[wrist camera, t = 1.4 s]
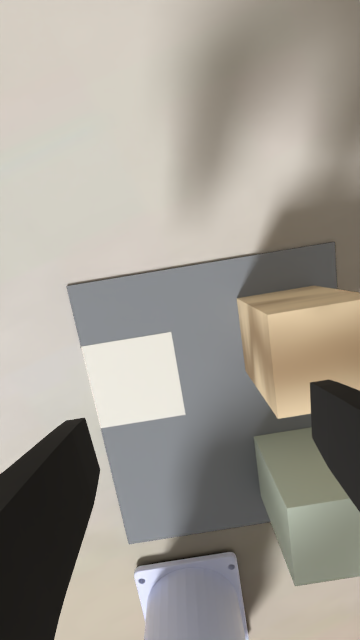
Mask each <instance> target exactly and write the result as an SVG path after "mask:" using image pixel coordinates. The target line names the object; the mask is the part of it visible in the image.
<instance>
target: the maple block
mask: <svg viewBox="0 0 360 640" xmlns="http://www.w3.org/2000/svg"><path fill="white" fill-rule="evenodd" d="M237 306H238V314H239V322H240V330H241V338H242V346H243V355H244V363H245V371H246V372H247V374H248V375H249V377H250V378H251V380H252V381H253V383H254V384H255V386H256V387H257V389H258V390H259V392H260V393H261V395H262V396H263V398H264V399H265V401H266V402H267V403H268V405H269V406H270V408H271V409H272V411H273V412H274V414H275V415H276V417H277V418H278V419H281V418H287V417H293V416H299V415H305V414H311V402H310V382H316V381H322V380H333V381H336V382H339V383H341V384H344V385H347V386H349V387H352V388H354V389H357V390H359V391H360V293H359V292H352V291H346V290H339V289H333V288H326V287H320V286H308V287H302V288H296V289H290V290H284V291H278V292H272V293H266V294H260V295H253V296H247V297H241V298H237Z"/></svg>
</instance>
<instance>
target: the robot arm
mask: <svg viewBox="0 0 360 640" xmlns="http://www.w3.org/2000/svg"><path fill="white" fill-rule="evenodd" d="M310 402H311V426H312V438H313V440H314V442H315V444H316V446H317V448H318V450H319V452H320V454H321V455H322V457H323V459H324V461H325V463H326V464H327V466H328V468H329V469H330V471H331V472H332V474H333V475H334V477H335V478H336V479H337V481H338V482H339V484H340V485H341V487H342V488H343V489H344V491H345V492H346V494H347V495H348V497H349V498H350V499H351V501H352V502H353V504H354V505H355V506H356V508H357V509H358V511H359V512H360V391H359V390H357V389H354V388H352V387H349V386H347V385H344V384H341V383H339V382H336V381H333V380H322V381H316V382H310ZM99 474H100V468H99V464H98V461H97V457H96V454H95V451H94V447H93V444H92V440H91V437H90V433H89V430H88V426H87V423H86V420H85V418H80V419H74V420H67V421H65V422H64V423H62V424H61V425H60V426H58V427H57V428H56V429H54V430H53V431H52V432H51V433H49V434H48V435H47V436H46V437H45V438H43V439H42V440H41V441H40V442H39V443H37V444H36V445H35V446H34V447H33V448H32V449H30V450H29V451H28V452H27V453H26V454H24V455H23V456H22V457H21V458H20V459H18V460H17V461H16V462H15V463H14V464H12V465H11V466H10V467H9V468H8V469H6V470H5V471H4V472H3V473H1V474H0V640H54V637H55V633H56V629H57V624H58V620H59V616H60V613H61V609H62V605H63V602H64V598H65V595H66V591H67V588H68V585H69V582H70V579H71V576H72V572H73V569H74V566H75V563H76V560H77V557H78V553H79V550H80V547H81V544H82V541H83V538H84V534H85V531H86V528H87V525H88V521H89V518H90V515H91V512H92V508H93V505H94V501H95V496H96V491H97V485H98V479H99ZM134 577H135V582H136V586H137V590H138V594H139V598H140V602H141V606H142V610H143V614H144V619H145V634H144V640H249V637H248V630H247V624H246V617H245V610H244V604H243V597H242V590H241V584H240V577H239V570H238V564H237V558H236V555H235V554H234V553H233V552H226V553H219V554H213V555H207V556H200V557H194V558H187V559H181V560H175V561H168V562H162V563H155V564H149V565H143V566H138V567H137V568H136V569H135V572H134Z"/></svg>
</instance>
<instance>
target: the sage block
mask: <svg viewBox="0 0 360 640" xmlns="http://www.w3.org/2000/svg"><path fill="white" fill-rule="evenodd" d="M254 444H255V452H256V461H257V469H258V477H259V485H260V493H261V498H262V500H263V503H264V506H265V508H266V511H267V514H268V516H269V519H270V521H271V524H272V527H273V529H274V532H275V535H276V537H277V540H278V543H279V545H280V548H281V551H282V553H283V556H284V559H285V561H286V564H287V566H288V569H289V572H290V574H291V577H292V580H293V582H294V585H295V586H300V585H307V584H313V583H319V582H326V581H332V580H339V579H345V578H352V577H358V576H360V512H359V511H358V509H357V508H356V506H355V505H354V504H353V502H352V501H351V499H350V498H349V497H348V495H347V494H346V492H345V491H344V489H343V488H342V487H341V485H340V484H339V482H338V481H337V479H336V478H335V477H334V475H333V474H332V472H331V471H330V469H329V468H328V466H327V464H326V463H325V461H324V459H323V457H322V455H321V454H320V452H319V450H318V448H317V446H316V444H315V442H314V440H313V438H312V427H310V428H303V429H297V430H291V431H285V432H278V433H272V434H266V435H260V436H254Z"/></svg>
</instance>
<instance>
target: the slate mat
mask: <svg viewBox="0 0 360 640" xmlns="http://www.w3.org/2000/svg"><path fill="white" fill-rule="evenodd" d="M308 286H320V287H326V288H333V289H337V276H336V256H335V242H331V243H325V244H318V245H312V246H306V247H300V248H294V249H288V250H282V251H276V252H270V253H264V254H258V255H252V256H246V257H240V258H234V259H228V260H222V261H216V262H210V263H204V264H197V265H191V266H185V267H179V268H173V269H167V270H161V271H155V272H149V273H143V274H137V275H131V276H125V277H119V278H113V279H107V280H101V281H95V282H89V283H83V284H76V285H70V286H66V287H67V291H68V295H69V299H70V303H71V307H72V312H73V316H74V320H75V324H76V328H77V332H78V336H79V340H80V345H81V349H82V353H83V358H84V362H85V366H86V370H87V374H88V378H89V382H90V386H91V391H92V395H93V399H94V403H95V407H96V411H97V415H98V420H99V424H100V428H101V432H102V436H103V440H104V444H105V448H106V452H107V456H108V460H109V465H110V469H111V473H112V477H113V481H114V485H115V489H116V494H117V498H118V502H119V506H120V510H121V514H122V518H123V523H124V527H125V531H126V535H127V539H128V543H129V544H134V543H140V542H147V541H153V540H159V539H166V538H172V537H178V536H185V535H191V534H198V533H204V532H210V531H217V530H223V529H229V528H236V527H242V526H248V525H255V524H261V523H268V522H271V521H270V519H269V516H268V514H267V511H266V508H265V506H264V503H263V500H262V498H261V493H260V485H259V477H258V469H257V461H256V452H255V444H254V436H260V435H266V434H272V433H278V432H285V431H291V430H297V429H303V428H310V427H312V426H311V414H305V415H299V416H293V417H287V418H281V419H278V418H277V417H276V415H275V414H274V412H273V411H272V409H271V408H270V406H269V405H268V403H267V402H266V401H265V399H264V398H263V396H262V395H261V393H260V392H259V390H258V389H257V387H256V386H255V384H254V383H253V381H252V380H251V378H250V377H249V375H248V374H247V372H246V371H245V363H244V355H243V346H242V338H241V330H240V322H239V314H238V306H237V298H241V297H247V296H253V295H260V294H266V293H272V292H278V291H284V290H290V289H296V288H302V287H308Z"/></svg>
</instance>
